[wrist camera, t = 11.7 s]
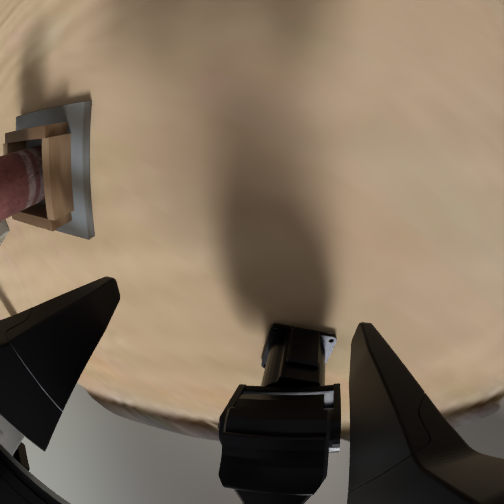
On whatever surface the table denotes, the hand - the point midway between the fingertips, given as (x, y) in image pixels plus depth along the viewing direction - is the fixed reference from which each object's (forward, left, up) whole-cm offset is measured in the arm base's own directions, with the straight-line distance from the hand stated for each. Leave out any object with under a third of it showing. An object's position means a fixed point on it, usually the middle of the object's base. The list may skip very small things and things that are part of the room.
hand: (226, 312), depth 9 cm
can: (+1, +25, -12) cm, 28 cm away
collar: (+1, +25, -13) cm, 28 cm away
